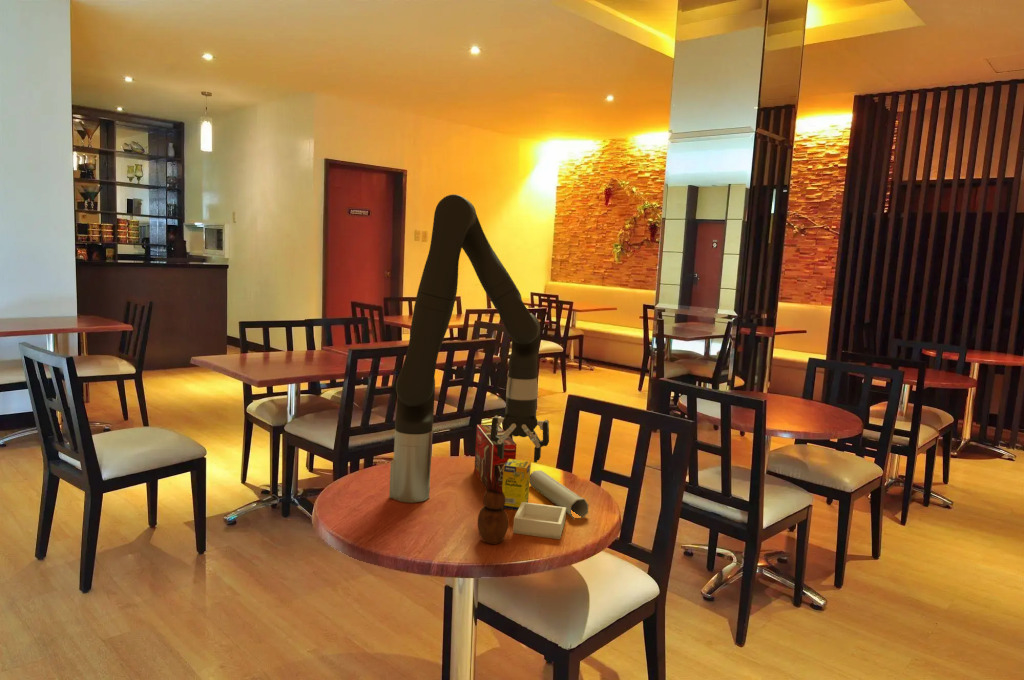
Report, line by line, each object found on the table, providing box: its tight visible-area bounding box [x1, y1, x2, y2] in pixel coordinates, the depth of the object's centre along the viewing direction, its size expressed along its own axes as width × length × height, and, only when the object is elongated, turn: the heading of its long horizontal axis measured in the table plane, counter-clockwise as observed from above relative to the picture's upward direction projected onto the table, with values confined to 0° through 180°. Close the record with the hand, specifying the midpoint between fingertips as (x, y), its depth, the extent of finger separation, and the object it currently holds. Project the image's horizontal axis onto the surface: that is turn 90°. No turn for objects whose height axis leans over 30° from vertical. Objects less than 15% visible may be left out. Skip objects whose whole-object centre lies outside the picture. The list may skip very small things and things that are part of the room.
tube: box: [529, 470, 589, 520], centre depth 177 cm, size 5×5×25 cm
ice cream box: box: [474, 424, 517, 490], centre depth 188 cm, size 20×6×13 cm, turn 14°
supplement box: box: [502, 459, 532, 511], centre depth 171 cm, size 6×6×11 cm
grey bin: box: [512, 502, 567, 540], centre depth 159 cm, size 11×11×4 cm
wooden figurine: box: [477, 472, 509, 545], centre depth 149 cm, size 7×6×15 cm
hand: (518, 459), depth 171 cm, fingers open, 8 cm apart
